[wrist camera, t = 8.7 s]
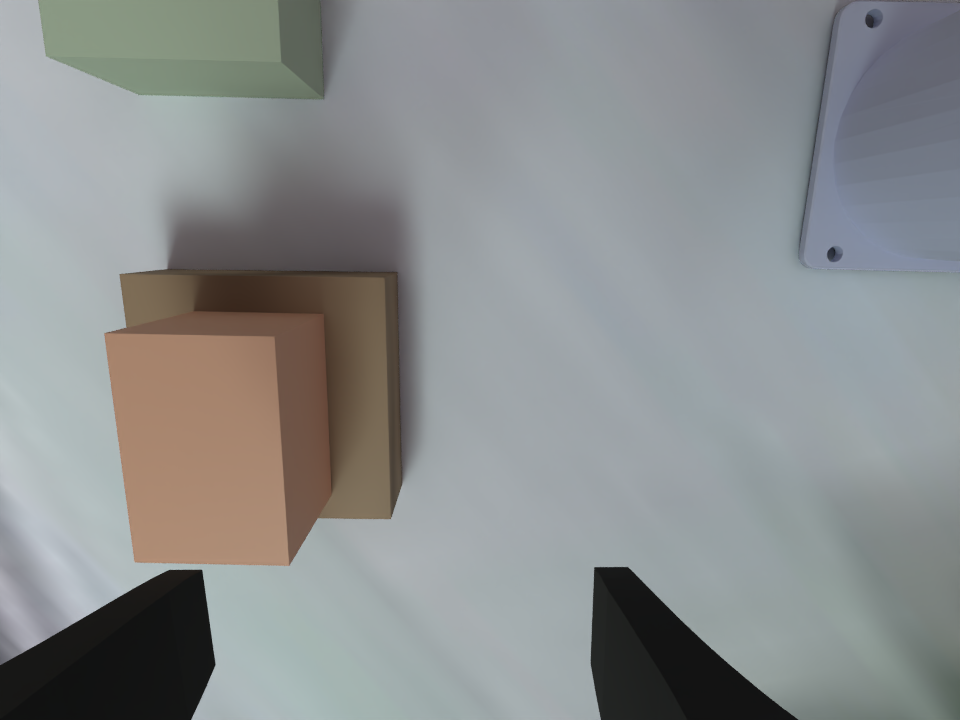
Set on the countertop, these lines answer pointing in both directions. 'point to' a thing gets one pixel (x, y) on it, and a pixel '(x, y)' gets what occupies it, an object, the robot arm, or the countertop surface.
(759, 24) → the countertop surface
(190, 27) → the sage brick
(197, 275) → the walnut slab
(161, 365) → the terracotta brick
